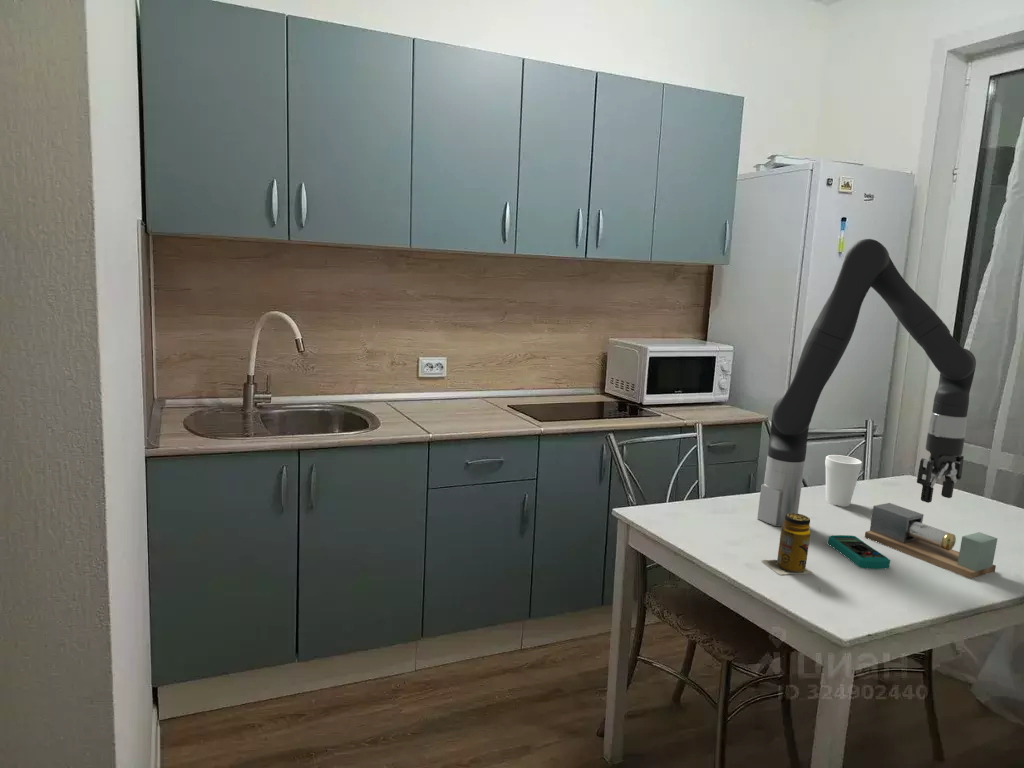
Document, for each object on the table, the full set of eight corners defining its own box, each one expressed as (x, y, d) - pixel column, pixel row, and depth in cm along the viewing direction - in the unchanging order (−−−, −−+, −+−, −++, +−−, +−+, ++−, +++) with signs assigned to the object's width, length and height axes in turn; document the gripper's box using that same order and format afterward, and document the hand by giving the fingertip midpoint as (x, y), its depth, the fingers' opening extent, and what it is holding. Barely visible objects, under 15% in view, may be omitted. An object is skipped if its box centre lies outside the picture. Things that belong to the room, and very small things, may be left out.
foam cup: (813, 497, 214) (819, 455, 212) (840, 497, 217) (846, 454, 214) (834, 508, 205) (841, 464, 203) (862, 507, 208) (869, 464, 205)
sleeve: (903, 543, 177) (907, 517, 176) (869, 530, 185) (873, 505, 184) (919, 539, 180) (923, 514, 179) (885, 527, 188) (889, 502, 187)
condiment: (813, 573, 160) (820, 521, 158) (779, 575, 158) (786, 522, 156) (794, 560, 167) (800, 510, 165) (760, 561, 165) (767, 511, 163)
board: (970, 579, 162) (971, 572, 162) (864, 537, 184) (865, 531, 184) (994, 571, 167) (995, 565, 167) (888, 531, 189) (889, 526, 189)
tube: (944, 551, 170) (947, 535, 169) (870, 523, 186) (872, 508, 185) (954, 549, 172) (956, 533, 171) (879, 521, 188) (881, 507, 187)
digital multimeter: (861, 571, 164) (862, 558, 164) (825, 544, 179) (827, 533, 178) (891, 571, 165) (893, 559, 165) (853, 545, 180) (855, 534, 179)
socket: (975, 571, 163) (980, 542, 161) (957, 564, 166) (962, 536, 165) (992, 566, 166) (997, 538, 165) (974, 559, 170) (979, 532, 168)
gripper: (947, 427, 177) (937, 491, 180) (912, 431, 170) (903, 498, 173) (979, 434, 171) (968, 500, 174) (945, 439, 164) (934, 508, 167)
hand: (936, 499), depth 173 cm, fingers open, 8 cm apart
